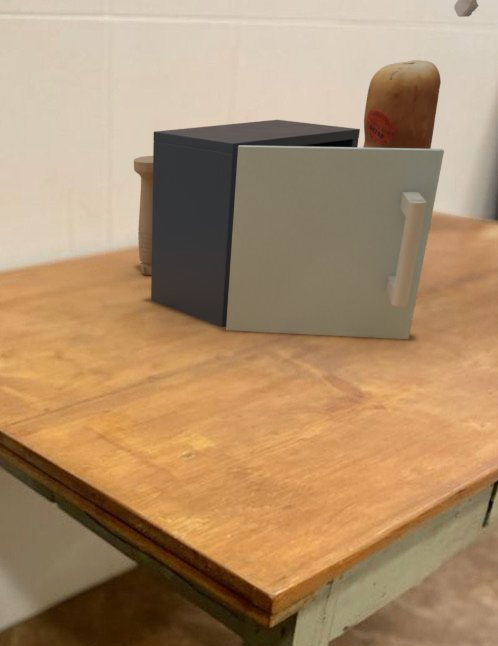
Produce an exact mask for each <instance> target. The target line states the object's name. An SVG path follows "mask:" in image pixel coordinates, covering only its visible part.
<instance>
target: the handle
mask: <svg viewBox="0 0 498 646" xmlns="http://www.w3.org/2000/svg"><path fill="white" fill-rule="evenodd" d="M133 171H134V172H135V173H137V174H138V175H139V176H140V195H139V196H140V197H139V212H138V213H139V215H138V229H137V230H138V231H137V232H138V256H139V261H140V264H139V266H140V272H141V273H142V275H144V276H151V269H152V205H153V155H145V156H139V157H136V158H134V159H133Z"/></svg>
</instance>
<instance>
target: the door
mask: <svg viewBox="0 0 498 646" xmlns="http://www.w3.org/2000/svg"><path fill="white" fill-rule="evenodd" d="M444 154H445V150H444V149H443V148H431V149H419V148H363V147H361V146H360V147H308V146H253V145H239V146H238V158H237V173H236V188H235V203H234V218H233V233H232V249H231V264H230V279H229V294H228V309H227V324H226V326H225V330H226V331H235V332H252V333H253V332H256V333H272V334H273V333H274V334H275V333H276V334H294V335H315V336H333V337H334V336H336V337H354V338H374V339H375V338H376V339H394V340H409V339H410V333H411V328H412V322H413V318H414V317H413V316H414V312H415V307H416V303H417V302H416V301H417V296H418V291H419V286H420V280H421V276H422V270H423V265H424V259H425V254H426V250H427V244H428V238H429V233H430V227H431V223H432V217H433V213H434V212H433V211H434V207H435V201H436V196H437V190H438V186H439V181H440V175H441V171H442V170H441V169H442V164H443V159H444Z"/></svg>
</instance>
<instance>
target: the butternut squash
mask: <svg viewBox="0 0 498 646" xmlns="http://www.w3.org/2000/svg"><path fill="white" fill-rule="evenodd" d="M440 74H441V73H440V70H439V69H438V67H437V66H436V65H435V64H434V63H433V62H431V61H429V60H421V59H416V60H415V59H414V60H409V61H401V62H400V61H399V62H395V63H390V64H387V65H384V66H383V67H381V68H379V70H377V71H376V72H375V73H374V75H373V76H372V77H371V79H370V82H369V84H368V85H369V86H368V89H367V90H368V91H367V95H366V96H367V97H366V101H365V108H364V117H363V132H364V142H363V148H419V149H432V148H431V147H432V141H433V137H434V136H433V135H434V131H435V123H436V122H435V121H436V114H437V107H438V102H439V95H440V90H441V89H440V88H441V75H440Z"/></svg>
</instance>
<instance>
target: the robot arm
mask: <svg viewBox="0 0 498 646" xmlns="http://www.w3.org/2000/svg"><path fill="white" fill-rule="evenodd" d="M477 1H478V0H457V1H455V3H454V8H453V9H454V11H455V13H456V15H457V17H460V18H462V17H470V16H472V14H473V12H475V11H476V10H477V8H478V7H479V3H478V2H477Z"/></svg>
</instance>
